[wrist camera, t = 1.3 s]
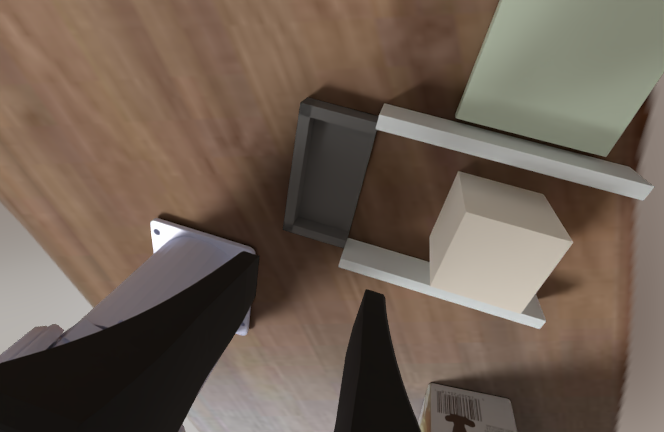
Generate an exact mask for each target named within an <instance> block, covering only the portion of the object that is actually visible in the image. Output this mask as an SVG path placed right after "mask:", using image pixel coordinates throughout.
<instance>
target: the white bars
mask: <svg viewBox="0 0 664 432" xmlns="http://www.w3.org/2000/svg"><path fill="white" fill-rule="evenodd" d="M376 129H377V130H380V131H384V132H388V133H392V134H395V135H399V136H403V137H407V138H410V139H414V140H418V141H421V142H425V143H429V144H433V145H436V146H440V147H444V148H448V149H451V150H455V151H459V152H463V153H466V154H470V155H474V156H478V157H481V158H485V159H489V160H493V161H496V162H500V163H504V164H508V165H511V166H515V167H519V168H523V169H526V170H530V171H534V172H538V173H541V174H545V175H549V176H553V177H556V178H560V179H564V180H568V181H571V182H575V183H579V184H583V185H586V186H590V187H594V188H598V189H601V190H605V191H609V192H612V193H616V194H620V195H624V196H627V197H631V198H635V199H639V200H643V201H644V200H645V198H646V197H647V196H648V195H649V193H650V192H651V191H652V190H653V188H654V186H653V185H652V184H651V183H649V182H648V181H647V180H645V179H644V178H643V177H642V176H640V175H639V174H638V173H637V172H635V171H634V170H633V169H632V168H630V167H628V166H625V165H621V164H617V163H613V162H609V161H605V160H601V159H598V158H594V157H590V156H586V155H582V154H578V153H574V152H571V151H567V150H563V149H559V148H555V147H551V146H547V145H544V144H540V143H536V142H532V141H528V140H524V139H520V138H517V137H513V136H509V135H505V134H501V133H497V132H493V131H490V130H486V129H482V128H478V127H474V126H470V125H466V124H463V123H459V122H455V121H451V120H447V119H443V118H439V117H436V116H432V115H428V114H424V113H420V112H416V111H412V110H409V109H405V108H401V107H397V106H393V105H389V104H385V103H384V105H383V107H382V109H381V112H380V114H379V117H378V121H377V125H376ZM338 267H340V268H343V269H346V270H350V271H353V272H356V273H359V274H363V275H366V276H369V277H372V278H376V279H379V280H382V281H385V282H389V283H392V284H395V285H398V286H401V287H405V288H408V289H411V290H414V291H418V292H421V293H424V294H427V295H431V296H434V297H437V298H440V299H444V300H447V301H450V302H453V303H457V304H460V305H463V306H466V307H470V308H473V309H476V310H479V311H483V312H486V313H489V314H492V315H496V316H499V317H502V318H505V319H509V320H512V321H515V322H518V323H522V324H525V325H528V326H531V327H534V328H538V329H540V328H541V327H542V326H543V325H544V323H545V322H546V319H545V317H544V314H543V311H542V309H541V306H540V303H539V301H538V298H537V295H536V294H535V295H534V297H533V298H532V299H531V301H530V302H529V303H528V305H527V306H526V308H525V309H524V310H523V312H522V313H521V314H519V313H516V312H513V311H509V310H506V309H503V308H499V307H496V306H493V305H490V304H486V303H483V302H480V301H477V300H473V299H470V298H467V297H463V296H460V295H457V294H454V293H450V292H447V291H444V290H441V289H437V288H434V287H431V286H430V262H428V261H424V260H421V259H418V258H414V257H411V256H408V255H404V254H401V253H398V252H394V251H391V250H387V249H384V248H381V247H377V246H374V245H371V244H367V243H364V242H361V241H357V240H354V239H351V238H347V241H346V244H345V247H344V250H343V253H342V256H341V259H340V263H339V266H338Z"/></svg>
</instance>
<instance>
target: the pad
mask: <svg viewBox="0 0 664 432" xmlns="http://www.w3.org/2000/svg"><path fill="white" fill-rule="evenodd" d="M663 73H664V0H500V1H499V3H498V6H497V8H496V11H495V13H494V16H493V19H492V21H491V24H490V26H489V29H488V31H487V34H486V36H485V39H484V42H483V44H482V47H481V49H480V52H479V54H478V57H477V59H476V62H475V65H474V67H473V70H472V72H471V75H470V77H469V80H468V82H467V85H466V88H465V90H464V93H463V95H462V98H461V100H460V103H459V106H458V108H457V111H456V113H455V118H457V119H460V120H464V121H468V122H472V123H476V124H480V125H484V126H488V127H491V128H495V129H499V130H503V131H507V132H511V133H515V134H518V135H522V136H526V137H530V138H534V139H538V140H542V141H546V142H549V143H553V144H557V145H561V146H565V147H569V148H573V149H577V150H580V151H584V152H588V153H592V154H596V155H600V156H604V157H607V155H608V154H609V152H610V151H611V149H612V148H613V146H614V145H615V144H616V142H617V141H618V139H619V138H620V136H621V135H622V133H623V132H624V130H625V129H626V127H627V126H628V124H629V123H630V122H631V120H632V119H633V117H634V116H635V114H636V113H637V111H638V110H639V108H640V107H641V105H642V104H643V102H644V101H645V100H646V98H647V97H648V95H649V94H650V92H651V91H652V89H653V88H654V86H655V85H656V83H657V82H658V80H659V79H660V78H661V76H662V75H663Z"/></svg>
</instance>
